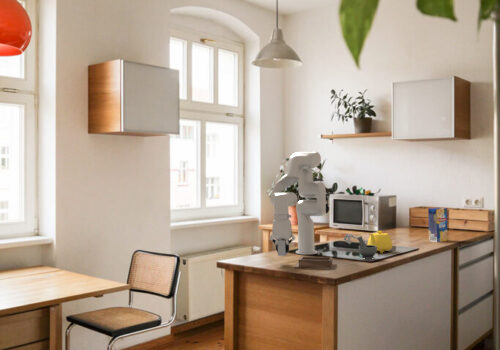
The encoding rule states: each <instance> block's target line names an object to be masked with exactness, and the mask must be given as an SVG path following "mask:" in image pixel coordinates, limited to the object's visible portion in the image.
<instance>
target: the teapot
mask: <svg viewBox="0 0 500 350" xmlns="http://www.w3.org/2000/svg"><path fill="white" fill-rule="evenodd" d="M367 242H368V243H366V245H373V246H377V252H379V253H380V254H384V253H385V251H390V250H392V248H393V242H392V238H391V236H390V234H389V233H383V231H382V230H377V231H376V232H373V233H369V237H368V239H367ZM383 252H384V253H383Z"/></svg>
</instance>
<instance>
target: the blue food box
mask: <svg viewBox="0 0 500 350" xmlns="http://www.w3.org/2000/svg"><path fill="white" fill-rule="evenodd" d="M427 210H428V212H427V213H428V216H427V218H428V242H433V243H441V242H447V241H448V208H447V207H431V208H428V209H427Z"/></svg>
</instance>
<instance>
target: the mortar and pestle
mask: <svg viewBox="0 0 500 350" xmlns="http://www.w3.org/2000/svg"><path fill="white" fill-rule="evenodd" d="M363 239H364V238H363V236H358V237H357V239H356V240H358V242H359V246H357V247H358V253H359V254H360V255H361V256H362V257H361V259H362V258H365V259H372V258H375V257H374V256H375V255H376V254H377V252H378V251H377V246H373V245H367V243H366V242H364V240H363Z"/></svg>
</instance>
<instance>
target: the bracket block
mask: <svg viewBox="0 0 500 350" xmlns="http://www.w3.org/2000/svg"><path fill="white" fill-rule="evenodd" d="M287 255H288V252H287V253H286V239H282V238H281V239H279V240H278V252H277V256H278V257H283V256H284V257H286V256H287Z"/></svg>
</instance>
